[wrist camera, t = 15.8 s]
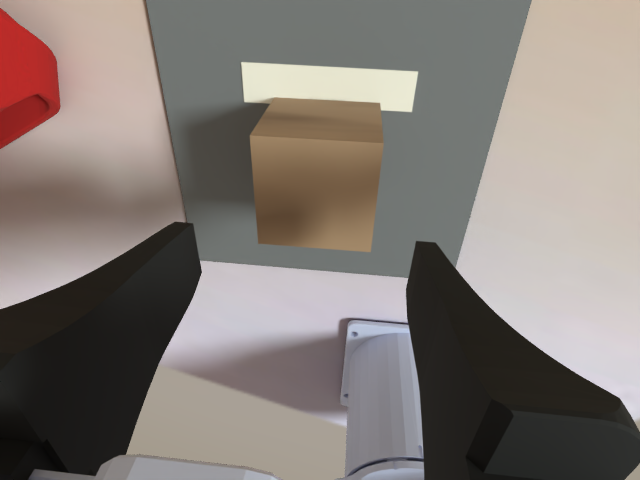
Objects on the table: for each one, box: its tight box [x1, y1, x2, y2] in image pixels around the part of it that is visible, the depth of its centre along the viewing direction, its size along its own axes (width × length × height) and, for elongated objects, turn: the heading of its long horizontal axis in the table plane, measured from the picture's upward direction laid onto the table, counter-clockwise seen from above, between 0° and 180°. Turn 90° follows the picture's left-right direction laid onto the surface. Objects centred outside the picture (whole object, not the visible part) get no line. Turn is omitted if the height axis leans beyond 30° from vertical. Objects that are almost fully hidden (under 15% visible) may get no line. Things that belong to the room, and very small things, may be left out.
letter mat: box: [146, 0, 532, 278], centre depth 21 cm, size 16×16×1 cm
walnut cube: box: [250, 97, 384, 252], centre depth 19 cm, size 5×5×5 cm
